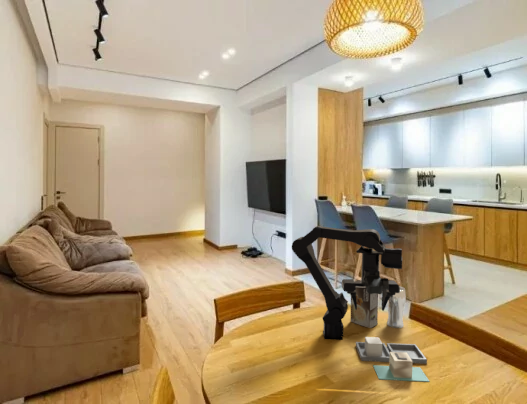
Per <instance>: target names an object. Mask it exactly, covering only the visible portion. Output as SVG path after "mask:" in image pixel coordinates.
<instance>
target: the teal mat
mask: <svg viewBox="0 0 527 404" xmlns="http://www.w3.org/2000/svg"><path fill="white" fill-rule="evenodd" d="M372 367H373V369H374V371H375V373H376V376H377V378H378V380H385V381H402V382H403V381H404V382H424V383H425V382H426V383H430V380H429V378H428V377H427V375H426V374H425V373H424V371H423V369H422V368H421V367H420V366H419V367H418V366H412V378H397V377H394V376H393V374H392V372H391V370H390V368H389V365H377V364H376V365H374V364H373V366H372Z"/></svg>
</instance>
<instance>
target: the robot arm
mask: <svg viewBox="0 0 527 404" xmlns="http://www.w3.org/2000/svg"><path fill="white" fill-rule="evenodd" d="M318 239H329V240H337V241H342V242H349V243H354V244H356V245H358V246H360V247H359V248H357V249H356V251H355V252H356V253H357V254H361V278H360V280H361V283H355V281H354V279H348V278H347V279H345V278H344V279H342V281H341V289H342V290H343V291H344V292H346V294H348V295H350V298H351V297H352V300H353V304H354V307H355V310H357V301H356V291H355V290H356V288H366V289H367V292H368V293H369V294H373V293H375V294H378V295H381V310H382V311H383V312H384V311H385V309H386V306H387V302H388V300H389V298H390V297H391V296H392V295H395V294H396V293H400V287H399V286H400V285H399V284H398V283H397V282H396V281H395V280H392V279H391V280H389V278H386V277H384V278H383V277H382V278H381V276H380V275H381V273H380V264H381V265H382V266H383V267H384V268H385V269H395V270H396V269H397V270H403V249H402V248H390V247H387V246H386V245H385V244H384V242H383V241H382V239H381V235H380V232H379V231H378V230H376V229H372V228H370V229H368V228H367V229H354V230H352V229H344V228H338V227H337V228H336V227H328V226H321V225H317V226H314V227H313V228H312V230H311V231H309V232H308V233H306V234H305V235H304V236H300V237H298V238H296V239H295V240H293V242H292V243H291V244H292V245H291V250H292V252H293V253H294V254H295V256H296V257H297V258H298V259H299V260H301V261H302V262H303V263H304V264H305V266H306V267H307V269H308V272H309V273H310V275H311V277H312V278H313V279H314V281H315V283H316V285H317V287H318V289H319V290H320V292H321V293H322V296H323V297H324V301H325V305H326V309H327V310H326V312H324V314H323V316H322V321H323V330H322V334H323V335H322V336H323V339H324V340H332V341H335V340H336V341H337V340H338V341H343V337H344V324H343V323H344V322H343V321H342V319H344V318H345V316H346V314H347V311H348V310H349V305H348V302H349V301H348V300H347V299H346V298H345V296H344V293H343V292H340V293H339V292H337V291H336V290H335V288H334V287H333V285H332V284H331V281H330V280H329V278H328V276H327V275H326V273H325V272H324V270H323V267H322V266H321V265H320V263H319V261H318V258H316V255H315V250H314V247H313V244H314V243H315V242H316V241H317V240H318Z"/></svg>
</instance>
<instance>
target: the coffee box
mask: <svg viewBox="0 0 527 404" xmlns="http://www.w3.org/2000/svg"><path fill="white" fill-rule="evenodd" d="M354 282H355V283H361V279H358V280H355V281H354ZM355 291H356V301H357V310H355V307H354V304H353V300H352V297H351V296H350V322H352V323H353V324H355V325H359V326H362V327H364V328H369V329H371V328H373V327H375V326H377V325H378V318H379V317H378V315H379V312H378V311H379V309H378V308H379V294H375V293H373V294H369V293H368V292H367V289H366V288H356V290H355Z"/></svg>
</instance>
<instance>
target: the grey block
mask: <svg viewBox="0 0 527 404" xmlns="http://www.w3.org/2000/svg"><path fill="white" fill-rule="evenodd" d="M364 342H365V351H366V354H367V356H382V343H383V342H382V340H381V339H380V337H377V336H376V337H375V336H364Z"/></svg>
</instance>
